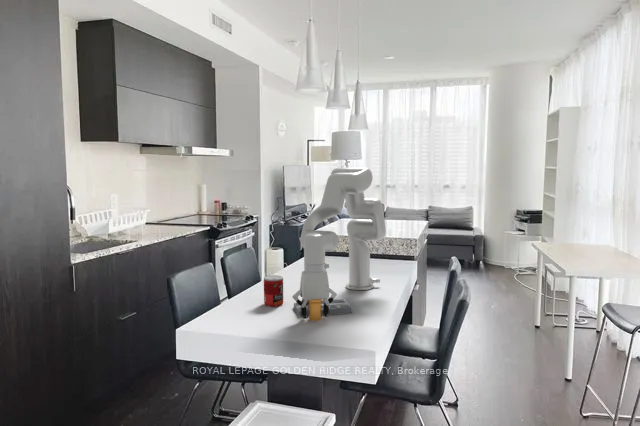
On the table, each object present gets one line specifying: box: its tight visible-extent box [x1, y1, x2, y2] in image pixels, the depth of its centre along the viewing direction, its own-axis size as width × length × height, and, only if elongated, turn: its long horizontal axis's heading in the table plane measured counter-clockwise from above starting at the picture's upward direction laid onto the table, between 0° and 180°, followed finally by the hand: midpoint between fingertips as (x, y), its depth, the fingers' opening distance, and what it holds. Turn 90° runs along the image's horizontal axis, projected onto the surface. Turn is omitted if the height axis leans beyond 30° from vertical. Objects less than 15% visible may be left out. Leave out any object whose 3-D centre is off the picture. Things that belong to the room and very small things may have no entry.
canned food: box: [263, 274, 284, 308], centre depth 187 cm, size 8×8×11 cm
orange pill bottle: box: [308, 299, 323, 322], centre depth 167 cm, size 5×5×8 cm
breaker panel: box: [293, 298, 353, 318], centre depth 178 cm, size 20×12×3 cm, turn 103°
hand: (315, 316), depth 167 cm, fingers open, 7 cm apart
